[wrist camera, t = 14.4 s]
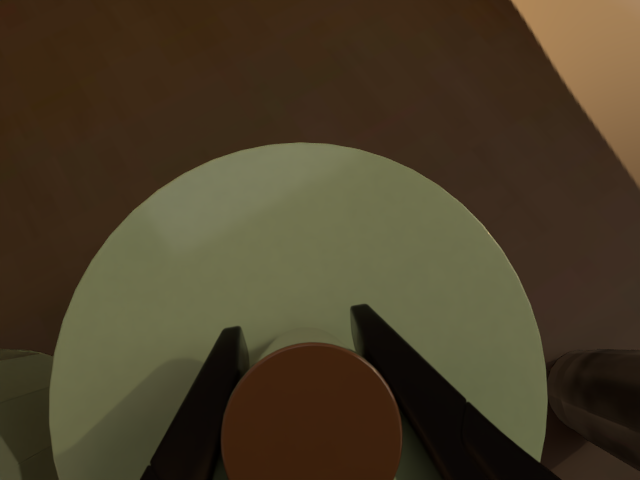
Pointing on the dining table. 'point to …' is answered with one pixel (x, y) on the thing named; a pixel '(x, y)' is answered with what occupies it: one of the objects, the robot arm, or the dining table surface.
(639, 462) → the beverage cup
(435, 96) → the dining table surface
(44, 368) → the jar
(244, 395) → the lid
